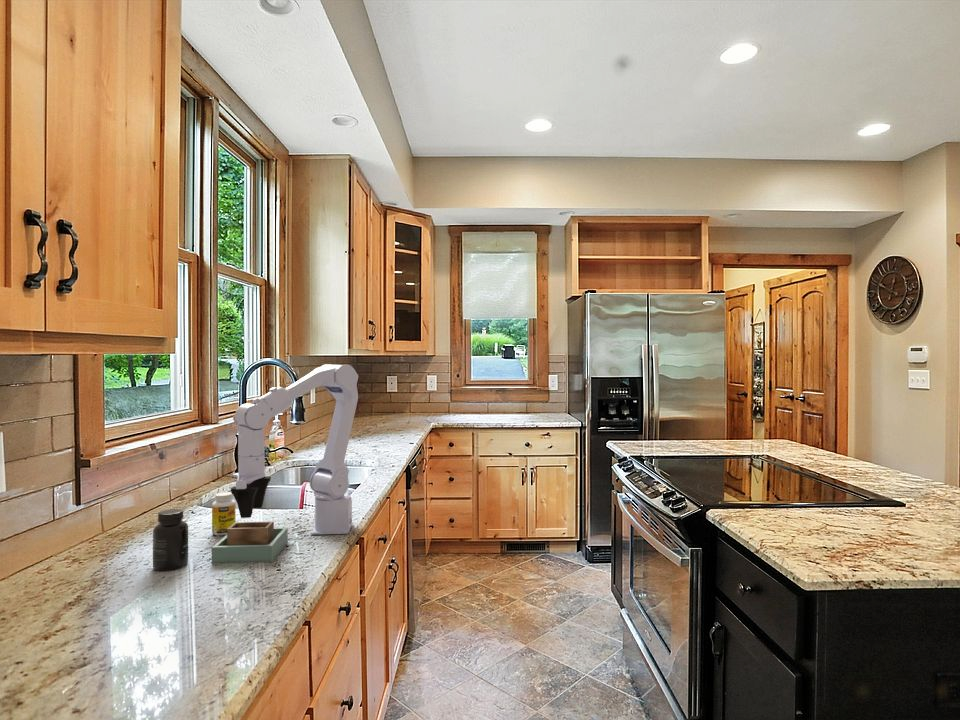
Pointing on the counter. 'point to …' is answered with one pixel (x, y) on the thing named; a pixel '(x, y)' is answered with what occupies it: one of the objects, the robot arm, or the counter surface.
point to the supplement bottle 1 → (170, 541)
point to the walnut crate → (250, 533)
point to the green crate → (249, 550)
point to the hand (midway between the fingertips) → (251, 512)
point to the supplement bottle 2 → (223, 513)
